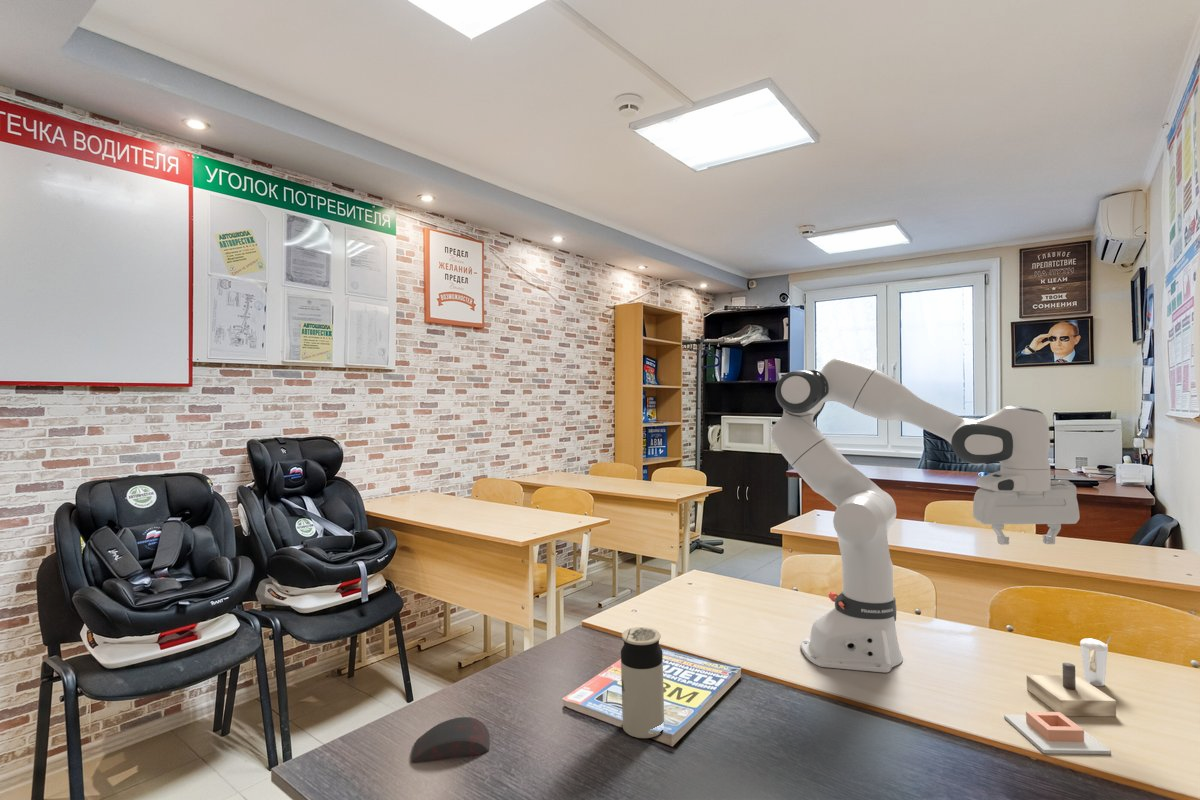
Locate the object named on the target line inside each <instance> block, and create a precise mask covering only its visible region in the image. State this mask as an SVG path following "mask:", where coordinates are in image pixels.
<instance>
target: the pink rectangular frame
mask: <svg viewBox="0 0 1200 800" xmlns="http://www.w3.org/2000/svg"><path fill="white" fill-rule="evenodd" d="M1025 715H1026V722H1027V723H1028V724H1029V725H1030V726H1031V727H1032V728H1033V729H1035V730H1036V731H1037V732H1038V733H1039V734H1040V735H1042V736H1043V737H1044V738H1045V739H1046V740H1047V741H1062V742H1084V731H1085V730H1084V729H1083V728H1082V727H1080V726H1079V725H1078V724H1077V723H1075V722H1074V721H1072V719H1070V718H1069V719H1068V716H1064V715H1063V714H1062V713H1060V712H1055V711H1025ZM1073 722H1074V723H1073ZM1077 725H1078V726H1077ZM1081 728H1082V729H1081Z"/></svg>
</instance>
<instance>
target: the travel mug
mask: <svg viewBox="0 0 1200 800" xmlns="http://www.w3.org/2000/svg"><path fill="white" fill-rule="evenodd" d="M661 637H662V636H661V633H660V631H658V630H657V629H654V628H652V627H647V626H639V627H638V626H637V627H636V626H635V627H631V628H627V629H626V630H623V632H622V633H621V639H622V640H623V641H622V642H623V645H622V647H621V650H620V673H621V674H620V675H621V676H620V677H621V704H622V705H621V708H622V709H621V710H622V711H621V712H622V729H623V731H624V732H625V733H626V734H627V735H629V736H631V737H635V738H637V739H650V738H654V737H657V736H659V735H660V734H656V733H653V734H649V733H648V731H649V730H650V729H653V728H655V727H657V726H659V725H661V724H662V723H663V722H664V723H665V703H664V702H665V699H664V694H665V693H664V659H663V658H664V657H663V656H664V653H663V650H662V647H661V645H660V639H661Z"/></svg>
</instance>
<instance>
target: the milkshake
mask: <svg viewBox="0 0 1200 800" xmlns="http://www.w3.org/2000/svg"><path fill="white" fill-rule="evenodd" d="M1111 639H1112V637H1111V636H1109V637H1108V639H1107V640H1106V643H1105V642H1103V641H1101V640H1098V639H1096V638H1095V639H1094V638H1092V637H1091V638H1083V639H1081V640H1080V641H1079V644H1080V651H1081V652H1080V653H1081V659H1082V661H1081V662H1082V669H1083V676H1084V677H1083V678H1084V679H1083V680H1085V681H1086V682H1088V683H1089V684H1091V685H1092V686H1094V687H1103V686H1105V684H1106V672H1107V659H1108V653H1109V646H1108V644H1109V643H1110V640H1111Z"/></svg>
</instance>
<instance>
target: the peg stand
mask: <svg viewBox="0 0 1200 800" xmlns="http://www.w3.org/2000/svg"><path fill="white" fill-rule="evenodd" d="M1061 666H1062V674H1061V675H1057V674H1053V675H1051V674H1049V675H1048V674H1047V675H1045V674H1041V675H1040V674H1039V675H1038V674H1026V690H1027V691H1028V692H1029V693H1031V694H1032V695H1034V697H1036V698H1037V699H1039V700H1040V701H1041V702H1042V703H1044V704H1045V705H1046V706H1048V707H1049V708H1050V709H1052V710H1053V712H1060V713H1062V714H1063V715H1064V716H1066V717H1117V700H1116V699H1114V698H1112V697H1111V696H1110V695H1108V694H1107V693H1105V692H1103V691H1102V690H1100V689H1098V688H1097V686H1094V685H1091V684H1089V683H1088V682H1086V681H1085V679H1083V678H1082V677H1080V676H1079V675H1077V674H1076V665H1075V664H1072V663H1071V662H1070V663H1069V662H1062V665H1061Z"/></svg>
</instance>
